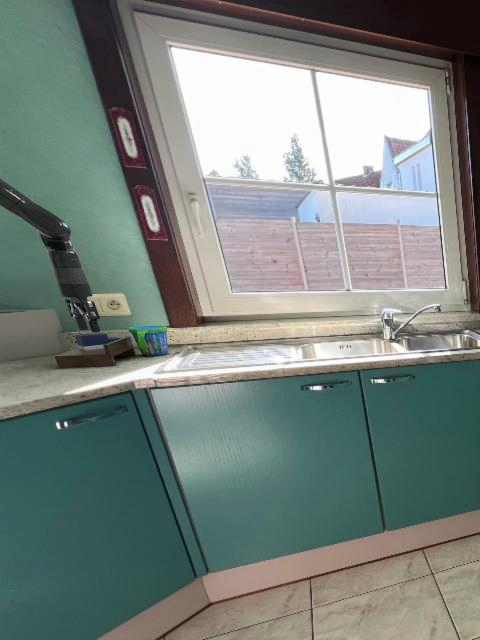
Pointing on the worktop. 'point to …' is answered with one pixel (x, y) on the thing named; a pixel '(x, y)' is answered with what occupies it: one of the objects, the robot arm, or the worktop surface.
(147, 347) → the snack cup
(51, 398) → the worktop surface
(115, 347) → the wooden display stand
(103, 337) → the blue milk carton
